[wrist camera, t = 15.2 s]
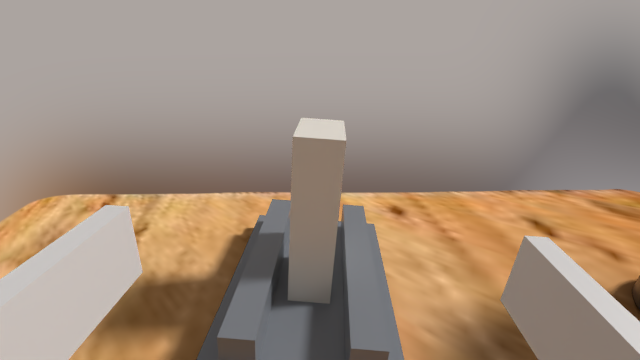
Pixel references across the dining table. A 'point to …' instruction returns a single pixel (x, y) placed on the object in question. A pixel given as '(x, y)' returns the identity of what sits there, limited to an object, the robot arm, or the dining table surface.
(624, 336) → the robot arm
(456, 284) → the dining table surface
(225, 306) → the rack
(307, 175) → the white rectangular block
